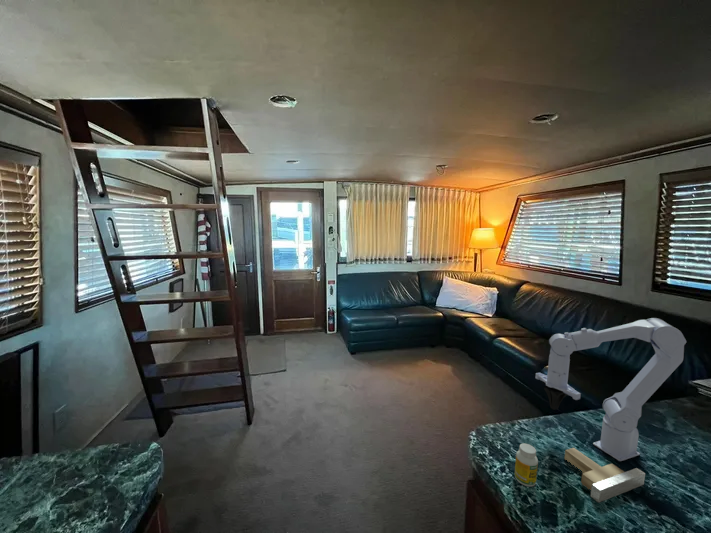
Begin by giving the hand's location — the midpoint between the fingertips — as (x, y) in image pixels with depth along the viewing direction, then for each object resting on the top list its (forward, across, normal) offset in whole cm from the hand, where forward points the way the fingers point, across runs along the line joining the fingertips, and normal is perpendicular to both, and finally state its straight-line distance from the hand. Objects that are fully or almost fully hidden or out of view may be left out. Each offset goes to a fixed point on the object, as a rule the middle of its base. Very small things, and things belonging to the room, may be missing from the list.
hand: (554, 408), depth 103 cm
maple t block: (+9, +16, -5) cm, 19 cm away
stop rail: (+9, +22, -4) cm, 25 cm away
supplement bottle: (+10, +12, -25) cm, 29 cm away
